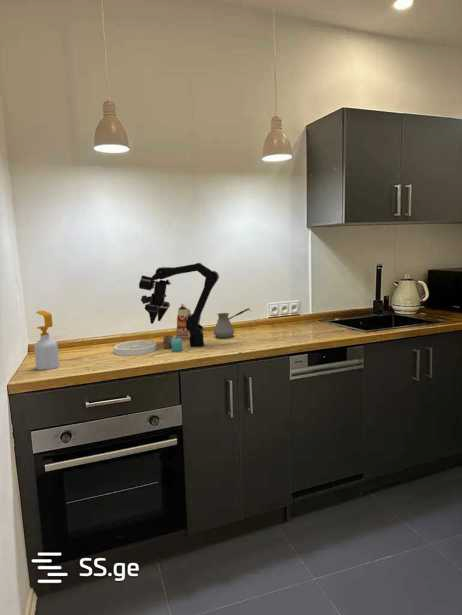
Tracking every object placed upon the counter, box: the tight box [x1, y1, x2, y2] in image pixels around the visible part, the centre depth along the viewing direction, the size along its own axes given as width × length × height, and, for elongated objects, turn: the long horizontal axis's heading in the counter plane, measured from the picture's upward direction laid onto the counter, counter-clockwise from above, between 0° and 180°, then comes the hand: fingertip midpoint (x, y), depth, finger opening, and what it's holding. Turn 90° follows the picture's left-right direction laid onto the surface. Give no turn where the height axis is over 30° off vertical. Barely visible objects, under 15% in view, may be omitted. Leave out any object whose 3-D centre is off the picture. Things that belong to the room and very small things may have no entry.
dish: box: [113, 340, 158, 357], centre depth 199 cm, size 20×20×3 cm
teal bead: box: [171, 337, 183, 353], centre depth 194 cm, size 5×5×6 cm
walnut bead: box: [162, 334, 174, 350], centre depth 201 cm, size 5×5×6 cm
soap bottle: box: [33, 310, 60, 371], centre depth 173 cm, size 9×9×25 cm
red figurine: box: [174, 303, 192, 342], centre depth 219 cm, size 9×9×20 cm
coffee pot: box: [213, 307, 251, 339], centre depth 223 cm, size 21×12×15 cm, turn 103°
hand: (155, 322), depth 205 cm, fingers open, 9 cm apart
